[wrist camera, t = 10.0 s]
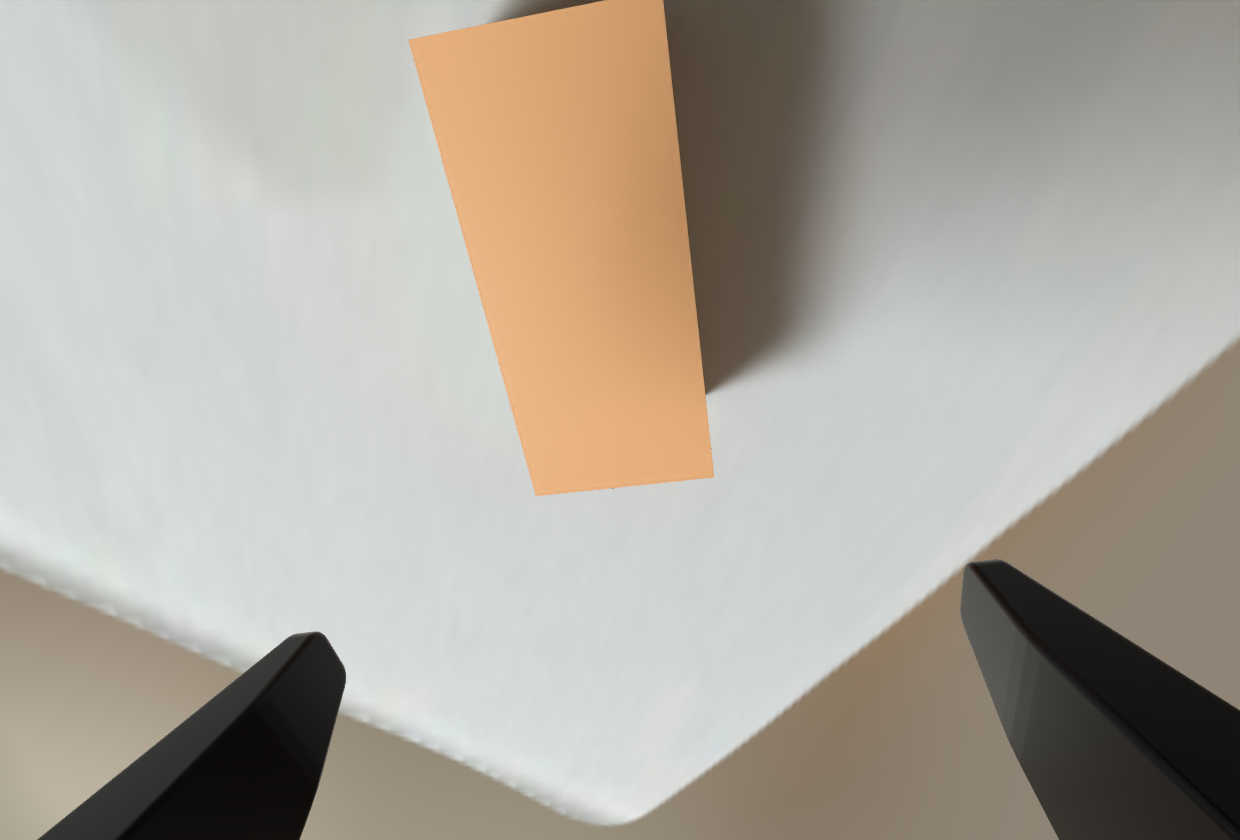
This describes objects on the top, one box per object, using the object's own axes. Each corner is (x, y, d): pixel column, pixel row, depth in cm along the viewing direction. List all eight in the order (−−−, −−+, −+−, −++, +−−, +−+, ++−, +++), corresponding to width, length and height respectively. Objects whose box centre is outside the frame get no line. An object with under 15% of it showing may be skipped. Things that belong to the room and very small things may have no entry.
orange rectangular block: (659, 11, 14) (662, -12, 10) (701, 394, 19) (714, 477, 15) (473, 48, 15) (408, 39, 11) (559, 411, 20) (535, 496, 16)
